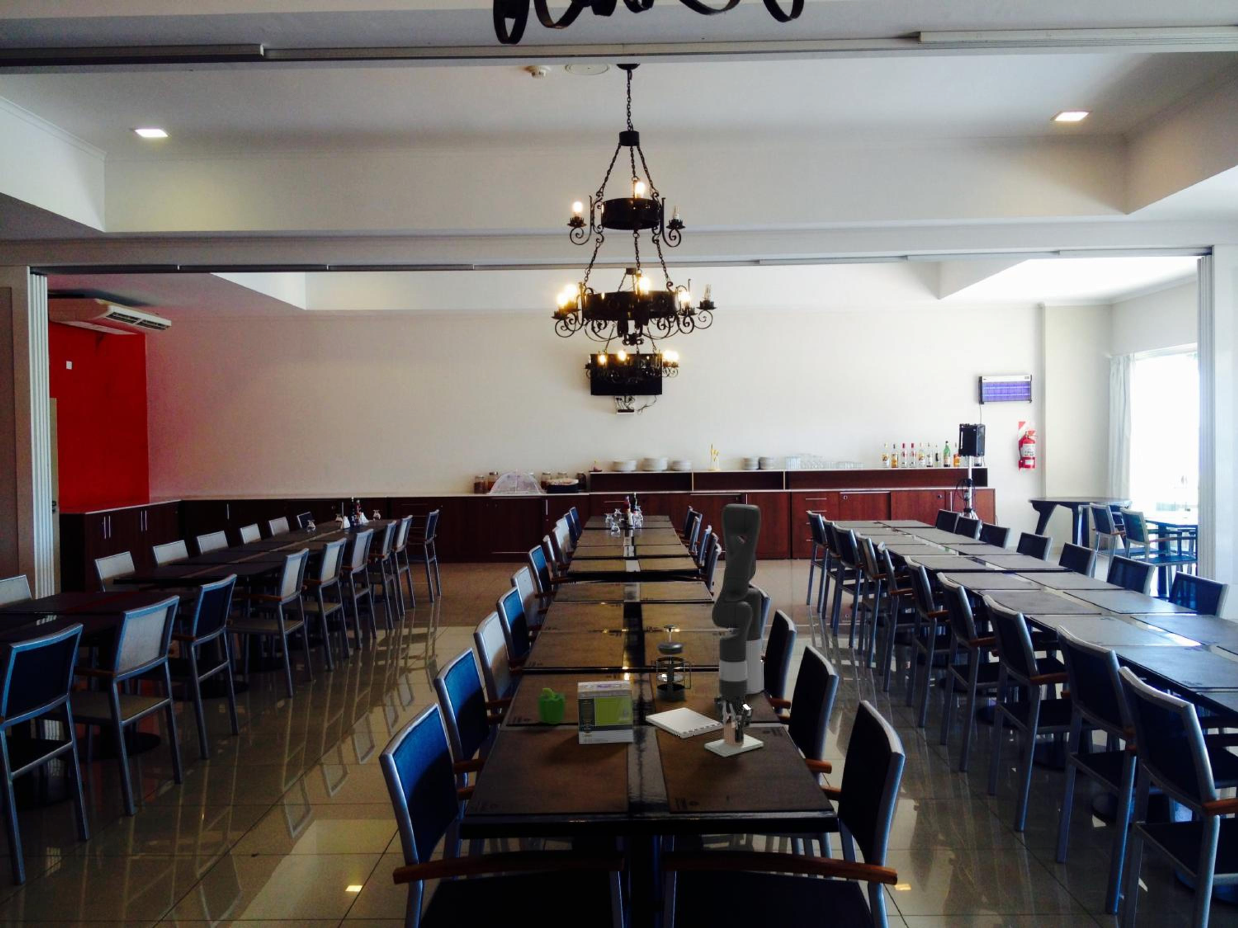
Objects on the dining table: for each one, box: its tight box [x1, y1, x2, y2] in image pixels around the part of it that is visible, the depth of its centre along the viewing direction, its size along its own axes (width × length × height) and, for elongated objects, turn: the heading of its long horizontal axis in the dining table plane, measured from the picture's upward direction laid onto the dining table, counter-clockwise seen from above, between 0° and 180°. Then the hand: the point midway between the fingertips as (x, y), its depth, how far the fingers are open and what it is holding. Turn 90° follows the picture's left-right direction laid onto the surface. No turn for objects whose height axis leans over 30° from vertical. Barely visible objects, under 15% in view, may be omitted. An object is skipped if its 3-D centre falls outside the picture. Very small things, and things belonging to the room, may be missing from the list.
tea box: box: [577, 679, 634, 745], centre depth 240 cm, size 15×10×15 cm
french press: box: [655, 624, 692, 703], centre depth 274 cm, size 12×9×23 cm
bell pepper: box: [536, 687, 567, 725], centre depth 254 cm, size 8×8×10 cm
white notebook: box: [645, 707, 724, 739], centre depth 250 cm, size 18×14×1 cm
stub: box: [704, 721, 764, 758], centre depth 231 cm, size 8×13×6 cm, turn 122°
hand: (733, 739), depth 231 cm, fingers closed on stub, 3 cm apart
